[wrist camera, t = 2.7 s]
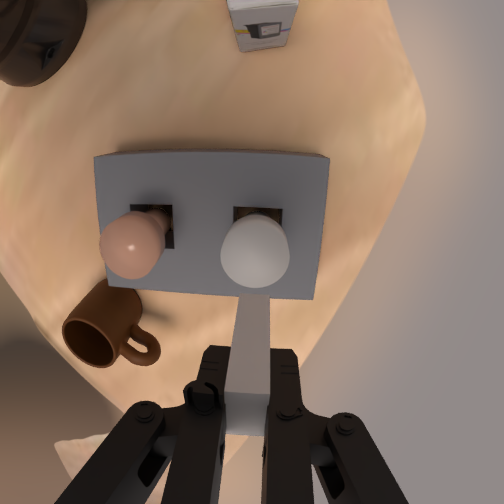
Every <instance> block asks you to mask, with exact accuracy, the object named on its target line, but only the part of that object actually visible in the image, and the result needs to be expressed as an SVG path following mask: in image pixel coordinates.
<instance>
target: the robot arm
mask: <svg viewBox="0 0 504 504" xmlns="http://www.w3.org/2000/svg"><path fill="white" fill-rule="evenodd" d="M86 12H87V7H86V1H85V0H0V80H2V81H4V82H6V83H7V84H9V85H12V86H19V87H30V86H35V85H37V84H40V83H42V82H43V81H45V80H46V79H48V78H49V77H51V76H52V75H53V74H54V73H55V72H56V71H57V70H58V69H59V68H60V67H61V66H62V65H63V64H64V62H65V61H66V60H67V58H68V57H69V56H70V54H71V53H72V51H73V49H74V48H75V46H76V44H77V42H78V40H79V38H80V36H81V33H82V30H83V27H84V24H85V20H86ZM183 394H184V399H185V404H183V405H180V406H177V407H171V408H161V407H160V406H159V405H158V404H156V403H155V402H151V401H140V402H137V403H135V404H133V405H132V406H131V407H130V408H129V409H128V410H127V412H126V413H125V414H124V416H123V417H122V418H121V419H120V421H119V422H118V423H117V424H116V426H115V427H114V428H113V430H112V431H111V432H110V433H109V435H108V436H107V437H106V438H105V440H104V441H103V442H102V443H101V445H100V446H99V447H98V449H97V450H96V451H95V452H94V454H93V455H92V456H91V457H90V459H89V460H88V461H87V463H86V464H85V465H84V466H83V468H82V469H81V470H80V471H79V473H78V474H77V475H76V476H75V478H74V479H73V480H72V482H71V483H70V484H69V485H68V487H67V488H66V489H65V490H64V492H63V493H62V494H61V496H60V497H59V498H58V500H57V501H56V502H55V503H54V504H145V502H146V501H147V499H148V497H149V496H150V494H151V493H152V491H153V489H154V488H155V486H156V484H157V483H158V481H159V479H160V478H161V476H162V474H163V473H164V471H165V469H166V468H167V466H168V464H169V463H170V461H171V464H170V468H169V472H168V476H167V480H166V484H165V488H164V493H163V497H162V501H161V504H218V499H219V490H220V483H221V475H222V467H223V459H224V451H225V434H233V435H248V436H264V447H263V454H262V457H263V468H262V497H261V504H314V495H313V482H312V469H311V464H313V465H314V468H315V470H316V473H317V475H318V478H319V480H320V483H321V485H322V488H323V490H324V493H325V495H326V498H327V500H328V503H329V504H409V503H408V501H407V500H406V498H405V496H404V494H403V492H402V491H401V489H400V487H399V485H398V484H397V482H396V480H395V478H394V476H393V475H392V473H391V471H390V469H389V468H388V466H387V464H386V462H385V460H384V459H383V457H382V455H381V454H380V452H379V450H378V448H377V446H376V445H375V443H374V441H373V439H372V438H371V436H370V434H369V432H368V431H367V429H366V427H365V425H364V423H363V422H362V421H361V419H360V418H359V417H357V416H356V415H354V414H350V413H346V412H345V413H338V414H336V415H333V416H332V417H331V418H327V417H323V416H318V415H315V414H313V413H311V412H309V411H308V410H307V409H306V408H305V406H304V405H303V402H302V396H301V386H300V376H299V367H298V358H297V356H296V354H295V353H294V352H293V350H292V349H276V348H270V295H262V294H244V293H240V295H239V301H238V308H237V314H236V320H235V326H234V332H233V339H232V345H231V347H228V346H216V345H210V346H209V347H208V348H207V349H206V350H205V351H204V353H203V357H202V360H201V364H200V369H199V372H198V376H197V379H196V380H195V381H192V382H190V383H189V384H187V385H186V386H185V388H184V390H183ZM171 459H172V460H171Z"/></svg>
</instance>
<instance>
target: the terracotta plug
mask: <svg viewBox="0 0 504 504" xmlns="http://www.w3.org/2000/svg"><path fill="white" fill-rule="evenodd" d="M170 227H171V220H170V217H169V215H168V213H167V212H166V211H165V210H163V209H161V208H156V207H155V208H151V209H149V210H148V211H146V212H145V213H144V212H140V211H131V212H127V213H125V214H123V215H122V216H120V217H119V218H117V219H116V220H114V221H113V222H111V223H110V224H109V225H107V226H106V227H105V229H104V230H103V232H102V234H101V237H100V244H99V246H100V252H101V256H102V258H103V260H104V262H105V264H106V265H107V266H108V267H109V269H110V270H111V271H113V272H114V273H115V274H117V275H118V276H120V277H123V278H126V279H139V278H142V277H144V276H145V275H147V274H148V273H149V272H150V271H151V269H152V268H153V267H154V265H155V264H156V263H157V261H158V260H159V259H160V258H161V256H162V254H163V252H164V249H165V234H166V233H167V232H168V231H169V229H170Z"/></svg>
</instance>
